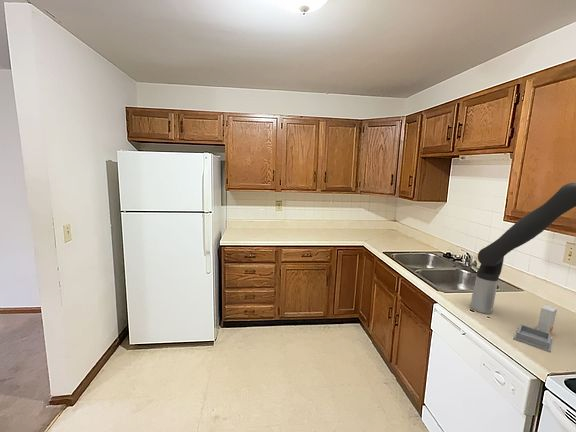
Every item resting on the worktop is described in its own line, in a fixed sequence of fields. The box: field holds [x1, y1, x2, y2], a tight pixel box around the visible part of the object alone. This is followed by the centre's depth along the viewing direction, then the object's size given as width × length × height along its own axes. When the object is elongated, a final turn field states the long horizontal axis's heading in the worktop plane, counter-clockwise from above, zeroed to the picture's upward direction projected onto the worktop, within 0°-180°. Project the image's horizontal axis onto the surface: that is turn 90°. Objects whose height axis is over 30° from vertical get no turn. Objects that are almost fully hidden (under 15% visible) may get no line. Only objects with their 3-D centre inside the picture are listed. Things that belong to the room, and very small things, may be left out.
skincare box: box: [536, 304, 558, 334], centre depth 133 cm, size 6×4×12 cm
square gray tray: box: [513, 323, 553, 353], centre depth 128 cm, size 12×12×3 cm
